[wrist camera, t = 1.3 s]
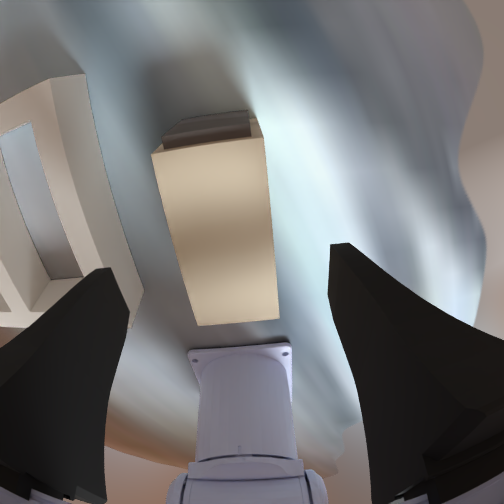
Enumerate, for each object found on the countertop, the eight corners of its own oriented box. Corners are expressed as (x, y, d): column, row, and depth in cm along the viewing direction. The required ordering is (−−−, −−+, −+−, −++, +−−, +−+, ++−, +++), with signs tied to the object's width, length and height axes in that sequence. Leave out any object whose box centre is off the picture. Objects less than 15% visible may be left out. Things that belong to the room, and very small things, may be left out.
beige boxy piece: (270, 259, 19) (279, 318, 15) (206, 266, 19) (197, 326, 15) (255, 108, 14) (262, 123, 10) (175, 119, 14) (148, 141, 10)
